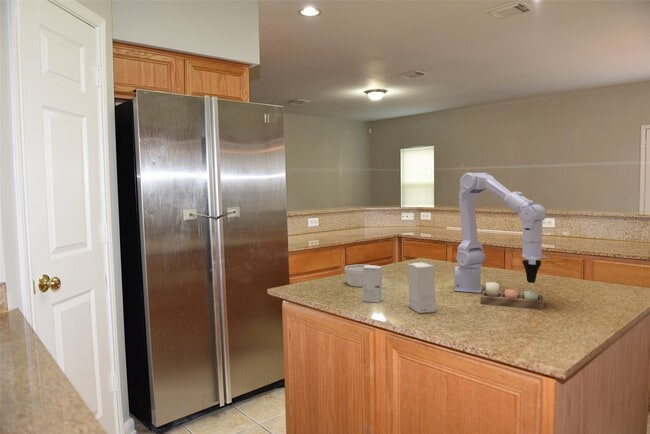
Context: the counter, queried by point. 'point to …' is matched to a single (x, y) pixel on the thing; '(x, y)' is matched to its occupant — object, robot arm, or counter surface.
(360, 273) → the ramekin
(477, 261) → the robot arm
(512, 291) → the terracotta button
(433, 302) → the skincare box
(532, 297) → the sage button
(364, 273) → the skincare box
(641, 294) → the counter surface
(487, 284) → the ivory button
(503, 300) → the button panel
